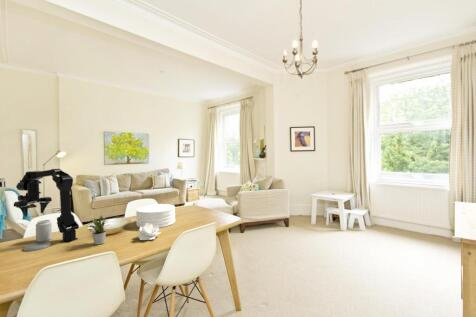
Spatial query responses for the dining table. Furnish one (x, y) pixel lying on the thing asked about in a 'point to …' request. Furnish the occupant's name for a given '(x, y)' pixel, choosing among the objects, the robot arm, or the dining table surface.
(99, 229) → the house plant
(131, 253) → the dining table surface
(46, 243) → the coaster
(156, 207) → the plate stack
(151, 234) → the lotus flower
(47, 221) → the can
